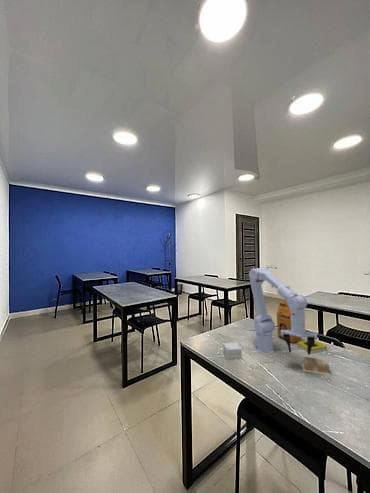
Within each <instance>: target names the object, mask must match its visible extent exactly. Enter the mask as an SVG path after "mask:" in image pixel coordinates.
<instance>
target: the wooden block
mask: <svg viewBox="0 0 370 493" xmlns="http://www.w3.org/2000/svg"><path fill="white" fill-rule="evenodd" d="M303 364H304V366H305V370H309V371H315V372H322V373H328V374H330V364H329V361H328V360H327V359H323V358H318V357H308V356H303Z"/></svg>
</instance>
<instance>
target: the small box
mask: <svg viewBox="0 0 370 493" xmlns="http://www.w3.org/2000/svg"><path fill="white" fill-rule="evenodd" d="M242 352H243V350H242V348H241V346H240V345H239V342H224V343H223V354H224V353H225V354H224V355H225V359H226V360H241V359H242V358H243V355H242V354H243V353H242Z"/></svg>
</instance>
